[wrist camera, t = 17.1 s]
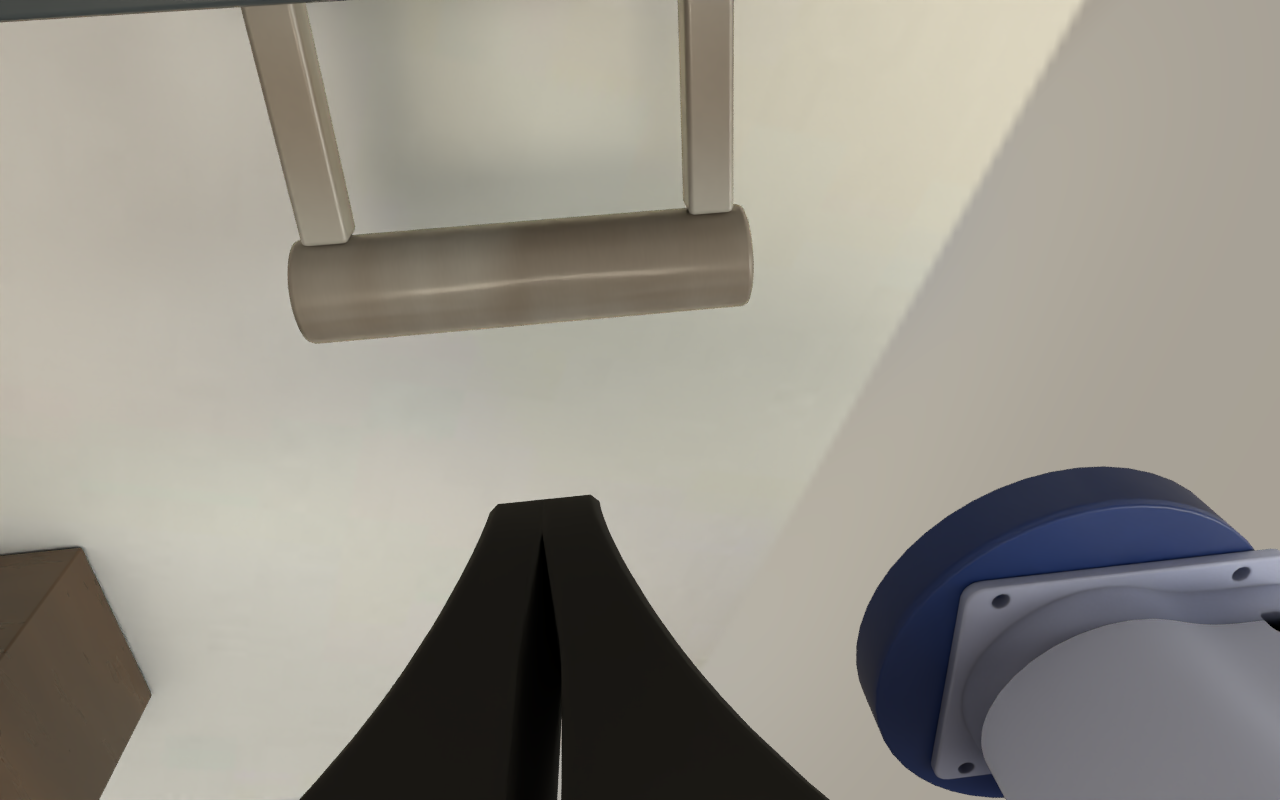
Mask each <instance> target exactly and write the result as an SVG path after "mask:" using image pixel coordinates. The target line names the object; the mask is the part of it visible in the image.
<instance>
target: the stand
mask: <svg viewBox="0 0 1280 800" xmlns="http://www.w3.org/2000/svg"><path fill="white" fill-rule="evenodd" d="M150 698H151V693H150V690H149V688H148V686H147V684H146V682H145V680H144V678H143V676H142V674H141V672H140V669H139V667H138V665H137V663H136V661H135V659H134V657H133V655H132V653H131V651H130V648H129V646H128V644H127V642H126V640H125V638H124V636H123V634H122V632H121V630H120V627H119V625H118V623H117V621H116V619H115V617H114V615H113V613H112V611H111V609H110V606H109V604H108V602H107V600H106V598H105V596H104V594H103V592H102V590H101V588H100V585H99V583H98V581H97V579H96V577H95V575H94V573H93V571H92V569H91V567H90V564H89V562H88V560H87V558H86V556H85V554H84V552H83V550H82V548H72V549H63V550H53V551H43V552H33V553H24V554H14V555H4V556H0V800H99V799H100V797H101V795H102V793H103V791H104V789H105V787H106V785H107V783H108V781H109V779H110V777H111V775H112V773H113V771H114V769H115V767H116V765H117V763H118V761H119V759H120V757H121V755H122V753H123V751H124V749H125V747H126V745H127V743H128V741H129V739H130V737H131V735H132V733H133V731H134V729H135V727H136V725H137V723H138V722H139V720H140V718H141V716H142V714H143V712H144V710H145V708H146V706H147V704H148V702H149V700H150Z"/></svg>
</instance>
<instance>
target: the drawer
mask: <svg viewBox="0 0 1280 800" xmlns="http://www.w3.org/2000/svg"><path fill="white" fill-rule="evenodd" d="M328 1H344V0H0V22H13V21H29V20H45V19H60V18H76V17H92V16H108V15H123V14H139V13H155V12H171V11H186V10H202V9H218V8H234V7H241V10H242V14H243V18H244V22H245V26H246V30H247V33H248V37H249V41H250V45H251V49H252V53H253V57H254V61H255V65H256V68H257V72H258V76H259V80H260V84H261V88H262V92H263V96H264V100H265V104H266V107H267V111H268V115H269V119H270V123H271V127H272V131H273V135H274V139H275V142H276V146H277V150H278V154H279V158H280V162H281V166H282V170H283V174H284V178H285V181H286V185H287V189H288V193H289V197H290V201H291V205H292V209H293V213H294V216H295V220H296V224H297V228H298V232H299V236H300V240H299V241H297V242H295V243H294V244H293V246H292V247H291V250H290V254H289V259H288V289H289V296H290V302H291V306H292V310H293V314H294V317H295V320H296V322H297V325H298V327H299V329H300V331H301V333H302V335H303V336H304V337H305V339H306V340H308V341H309V342H312V343H315V344H320V343H331V342H343V341H354V340H365V339H376V338H388V337H399V336H410V335H421V334H433V333H444V332H455V331H466V330H478V329H489V328H500V327H511V326H522V325H534V324H545V323H556V322H567V321H579V320H590V319H601V318H612V317H624V316H635V315H646V314H657V313H669V312H680V311H691V310H702V309H714V308H725V307H736V306H743V305H745V304H747V303H748V301H749V299H750V296H751V292H752V286H753V273H754V261H753V246H752V238H751V231H750V226H749V222H748V219H747V216H746V214H745V211H744V209H743V208H742V206H740V205H737V204H733V74H734V0H678V25H679V63H680V101H681V139H682V176H683V201H684V203H685V205H686V207H687V208H679V209H667V210H655V211H642V212H630V213H618V214H605V215H593V216H581V217H568V218H556V219H544V220H531V221H519V222H507V223H494V224H482V225H470V226H457V227H445V228H433V229H420V230H408V231H396V232H383V233H371V234H359V235H352V233H353V232H354V230H355V224H354V219H353V215H352V210H351V206H350V201H349V197H348V192H347V188H346V183H345V179H344V174H343V170H342V165H341V161H340V156H339V152H338V147H337V143H336V138H335V134H334V129H333V125H332V120H331V116H330V111H329V107H328V102H327V98H326V93H325V89H324V84H323V80H322V75H321V71H320V66H319V62H318V57H317V53H316V48H315V44H314V39H313V35H312V30H311V26H310V21H309V17H308V12H307V8H306V3H312V2H328Z"/></svg>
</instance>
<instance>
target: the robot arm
mask: <svg viewBox="0 0 1280 800" xmlns="http://www.w3.org/2000/svg"><path fill="white" fill-rule="evenodd" d="M998 595H1000V596H999V597H997V598H995V597H996V596H998ZM561 718H562V790H561V791H562V792H561V794H562V795H561V800H829V799H828V798H827V797H825V796H824V795H823V794H822V793H821V792H820V791H818V790H817V789H816V788H815V787H814V786H812V785H811V784H810V783H809V782H808V781H807V780H806V779H805V778H803V776H801V775H800V774H799V773H798V772H797V771H796V770H795V769H794V768H793V767H792V766H791V765H790V764H789V763H787V762H786V761H785V760H784V759H783V758H782V757H781V756H780V755H779V754H778V753H777V752H776V751H775V750H774V749H773V748H772V747H771V746H769V745H768V744H767V743H766V742H765V741H764V740H763V739H762V738H761V737H759V735H758V734H757V733H756V732H755V731H753V730H752V729H751V728H750V727H749V726H748V725H747V723H746V722H745V721H744V720H743V719H742V718H741V717H740V716H739V715H738V714H737V713H736V712H735V711H734V710H733V708H732V707H731V706H730V705H729V704H728V703H727V702H726V701H725V700H724V699H723V698H722V697H721V696H720V695H719V693H718V692H717V691H716V690H715V689H714V687H713V686H712V685H711V684H710V683H709V682H708V681H707V679H706V678H705V677H704V676H703V675H702V674H701V672H700V671H699V670H698V669H697V668H696V666H695V665H694V664H693V663H692V661H691V660H690V659H689V658H688V656H687V655H686V654H685V652H684V651H683V650H682V649H681V647H680V646H679V645H678V643H677V642H676V641H675V639H674V638H673V636H672V635H671V634H670V632H669V631H668V630H667V628H666V627H665V625H664V624H663V623H662V621H661V620H660V618H659V617H658V615H657V614H656V613H655V611H654V610H653V608H652V607H651V605H650V604H649V602H648V601H647V599H646V597H645V596H644V594H643V592H642V591H641V589H640V587H639V586H638V584H637V583H636V581H635V579H634V578H633V576H632V574H631V573H630V571H629V569H628V568H627V566H626V564H625V562H624V560H623V559H622V557H621V555H620V553H619V551H618V549H617V547H616V545H615V543H614V541H613V539H612V537H611V534H610V532H609V530H608V527H607V525H606V522H605V520H604V517H603V514H602V511H601V507H600V502H599V501H598V500H597V499H596V498H594V497H593V496H592V495H583V496H573V497H563V498H554V499H544V500H534V501H525V502H515V503H505V504H498V505H497V506H496V507H495V508H494V509H493V510H492V511H491V512H490V514H489V517H488V520H487V522H486V525H485V527H484V529H483V532H482V534H481V536H480V539H479V541H478V543H477V545H476V547H475V549H474V552H473V554H472V556H471V558H470V560H469V562H468V564H467V566H466V568H465V570H464V571H463V573H462V575H461V577H460V579H459V581H458V583H457V584H456V586H455V588H454V590H453V591H452V593H451V595H450V597H449V599H448V600H447V602H446V604H445V606H444V608H443V609H442V611H441V613H440V615H439V616H438V618H437V620H436V621H435V623H434V625H433V626H432V628H431V629H430V631H429V632H428V634H427V636H426V637H425V639H424V640H423V642H422V643H421V645H420V646H419V648H418V649H417V651H416V653H415V654H414V656H413V657H412V659H411V660H410V662H409V663H408V665H407V666H406V668H405V669H404V671H403V672H402V674H401V675H400V677H399V678H398V679H397V681H396V682H395V684H394V685H393V686H392V688H391V689H390V691H389V692H388V694H387V695H386V696H385V698H384V699H383V700H382V702H381V703H380V704H379V706H378V707H377V708H376V710H375V711H374V712H373V713H372V715H371V716H370V717H369V719H368V720H367V721H366V722H365V724H364V725H363V726H362V727H361V729H360V730H359V731H358V733H357V734H356V735H355V736H354V738H353V739H352V740H351V741H350V742H349V744H348V745H347V746H346V747H345V748H344V749H343V751H342V752H341V753H340V754H339V755H338V756H337V758H336V759H335V760H334V761H333V762H332V763H331V764H330V766H329V767H328V768H327V769H326V770H325V771H324V773H323V774H322V775H321V776H320V777H319V778H318V780H317V781H316V782H315V783H314V784H313V785H312V786H311V788H310V789H309V790H308V791H307V792H306V793H305V794H304V795H303V796H302V797H301V798H300V800H557V792H558V774H559V755H560V737H561ZM931 766H932V769H933V771H934V773H935V775H936V776H937V777H939V778H941V779H955V778H963V777H971V776H978V775H986V774H992V775H993V776H994V778H995V780H996V782H997V784H998V786H999V788H1000V790H1001V791H1002V793H1003V795H1004V797H1005V799H1006V800H1280V550H1278V549H1263V550H1254V551H1245V552H1236V553H1227V554H1218V555H1209V556H1201V557H1192V558H1183V559H1174V560H1165V561H1156V562H1147V563H1138V564H1129V565H1120V566H1111V567H1102V568H1094V569H1085V570H1076V571H1067V572H1058V573H1049V574H1040V575H1031V576H1022V577H1013V578H1004V579H995V580H986V581H979V582H975V583H972V584H970V585H969V586H967V587H966V588H965V589H964V590H963V592H962V594H961V596H960V602H959V607H958V613H957V619H956V624H955V630H954V635H953V641H952V647H951V652H950V658H949V664H948V669H947V675H946V681H945V686H944V692H943V697H942V703H941V709H940V714H939V720H938V726H937V731H936V737H935V743H934V748H933V754H932V760H931Z"/></svg>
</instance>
